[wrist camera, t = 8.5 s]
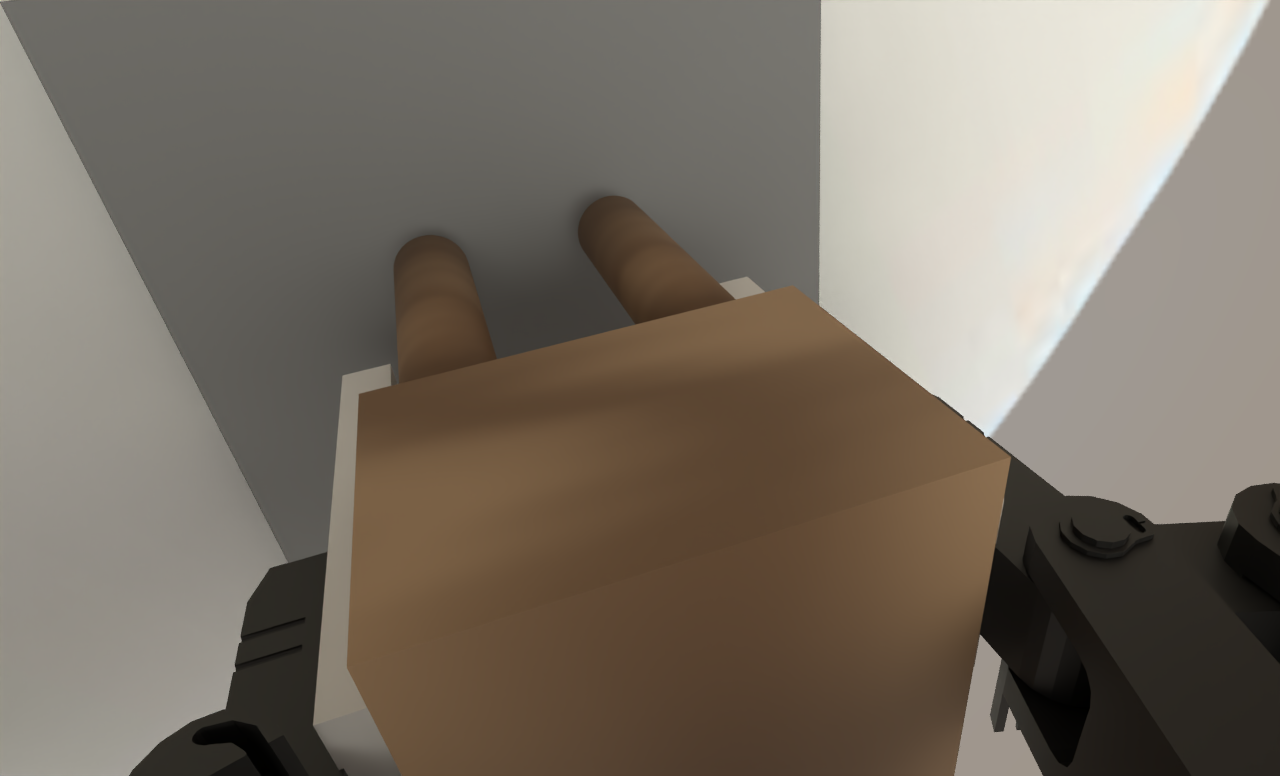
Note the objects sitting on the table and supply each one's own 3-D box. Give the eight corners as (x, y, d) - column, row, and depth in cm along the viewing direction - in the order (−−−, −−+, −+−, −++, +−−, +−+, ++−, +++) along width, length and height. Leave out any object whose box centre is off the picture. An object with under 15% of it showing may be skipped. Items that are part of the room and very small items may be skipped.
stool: (444, 470, 16) (511, 989, 8) (365, 234, 14) (346, 667, 5) (677, 406, 18) (948, 809, 9) (651, 174, 15) (1010, 457, 6)
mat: (318, 601, 19) (317, 618, 19) (14, 0, 12) (-1, 1, 11) (807, 455, 22) (817, 467, 21) (806, -112, 15) (821, -114, 14)
